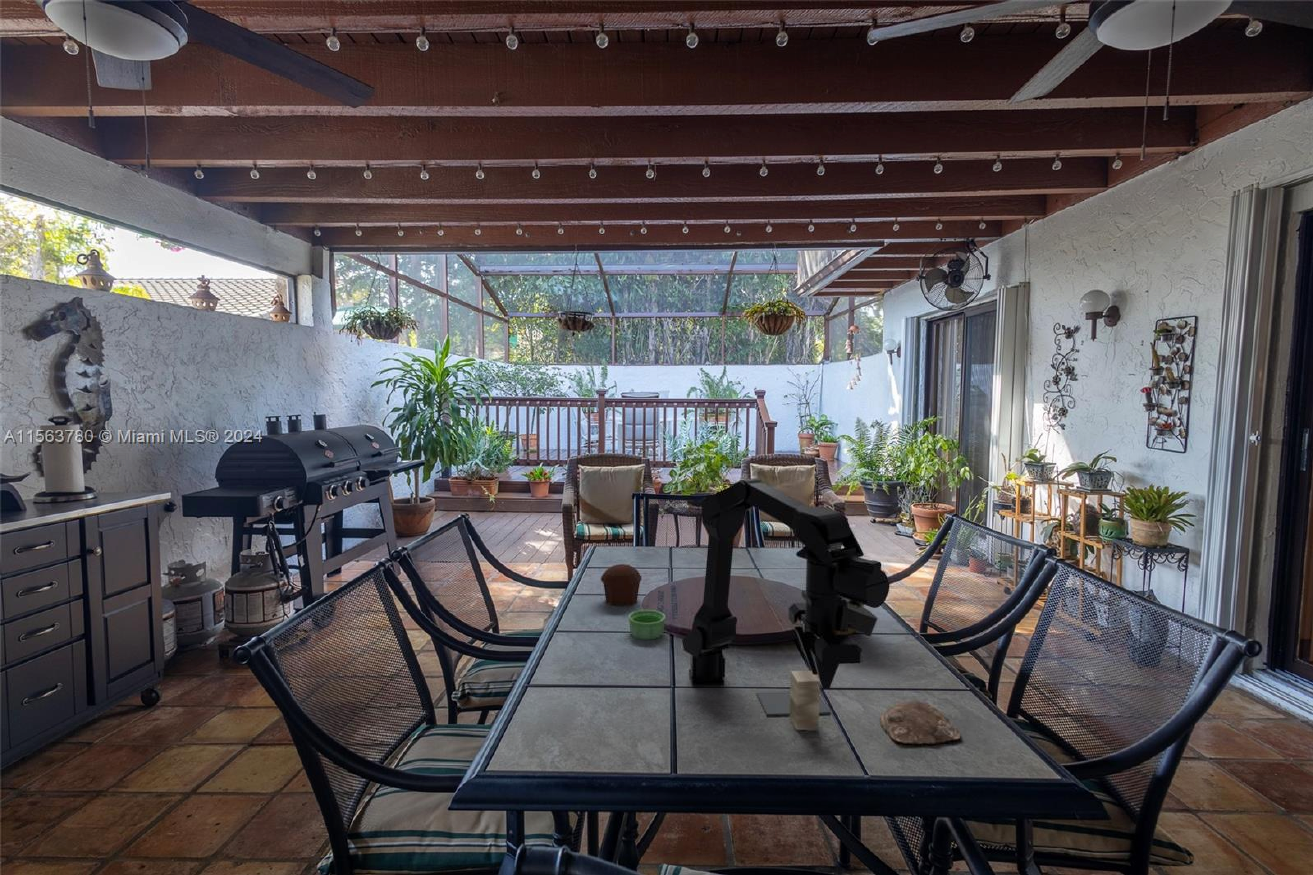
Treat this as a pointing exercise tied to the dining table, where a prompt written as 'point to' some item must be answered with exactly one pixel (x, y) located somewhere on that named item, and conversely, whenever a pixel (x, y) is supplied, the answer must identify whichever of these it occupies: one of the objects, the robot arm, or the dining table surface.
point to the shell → (919, 725)
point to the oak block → (804, 700)
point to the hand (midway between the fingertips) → (820, 681)
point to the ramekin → (646, 624)
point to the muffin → (621, 585)
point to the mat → (782, 703)
